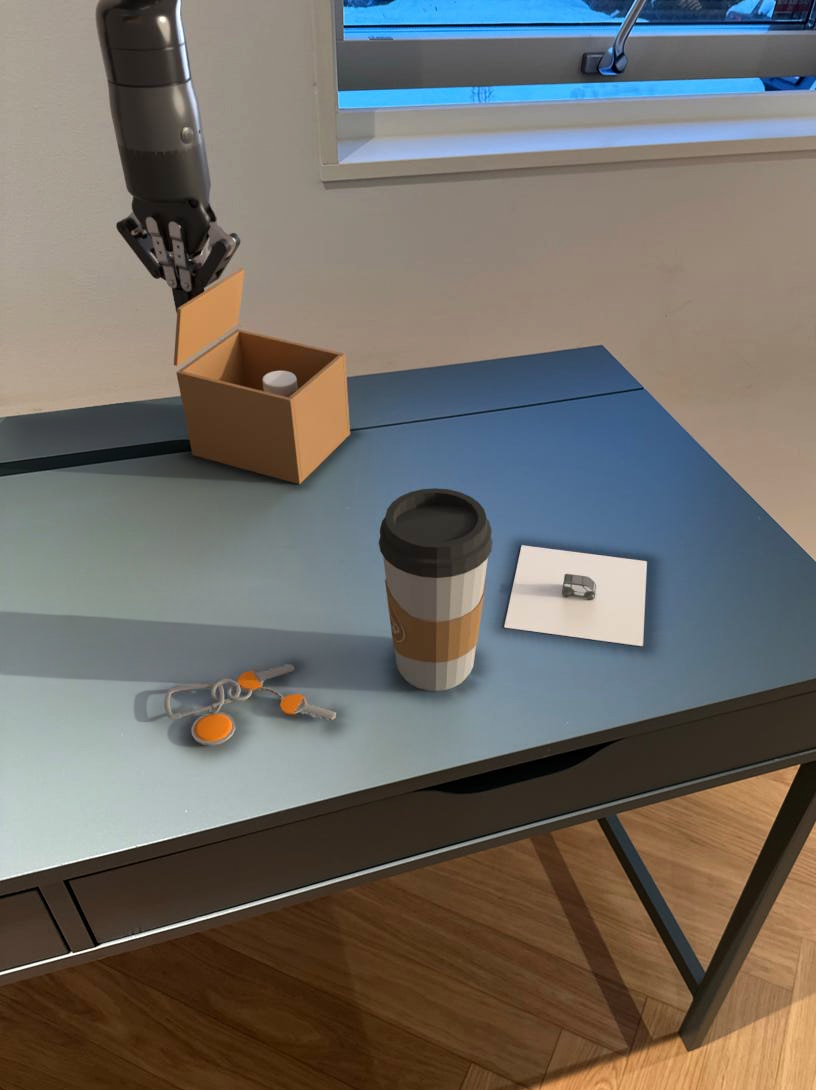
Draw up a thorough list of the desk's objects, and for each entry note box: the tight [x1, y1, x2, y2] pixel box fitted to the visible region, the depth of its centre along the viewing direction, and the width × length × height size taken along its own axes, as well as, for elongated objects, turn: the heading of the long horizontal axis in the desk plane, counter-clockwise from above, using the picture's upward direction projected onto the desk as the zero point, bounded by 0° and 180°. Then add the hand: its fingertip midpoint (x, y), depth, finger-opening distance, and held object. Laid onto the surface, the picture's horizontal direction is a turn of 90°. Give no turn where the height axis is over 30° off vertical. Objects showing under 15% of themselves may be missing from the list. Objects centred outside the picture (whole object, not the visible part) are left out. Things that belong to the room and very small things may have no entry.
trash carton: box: [175, 328, 351, 485], centre depth 98 cm, size 13×11×10 cm
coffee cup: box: [378, 487, 493, 692], centre depth 72 cm, size 8×8×15 cm
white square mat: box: [503, 544, 648, 647], centre depth 84 cm, size 12×12×2 cm
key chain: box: [163, 663, 337, 746], centre depth 73 cm, size 13×7×1 cm, turn 104°
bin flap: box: [173, 268, 246, 367], centre depth 94 cm, size 6×11×1 cm
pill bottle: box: [263, 371, 298, 398], centre depth 98 cm, size 4×4×8 cm
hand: (193, 322), depth 95 cm, fingers closed
